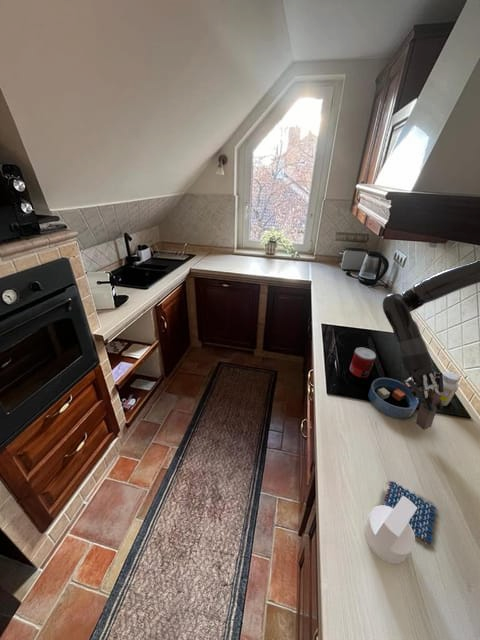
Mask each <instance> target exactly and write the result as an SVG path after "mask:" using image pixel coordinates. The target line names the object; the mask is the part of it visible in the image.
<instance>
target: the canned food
mask: <svg viewBox="0 0 480 640" xmlns="http://www.w3.org/2000/svg"><path fill="white" fill-rule="evenodd" d="M376 358H377V355H376V353H375V352H374V350H372V349H370V348H367V347H362V346H361V347H356V348H355V349H354V352H353V356H352V359H351V362H350V365H349V372H350V373H351V374H352V375H354V376H356V377H357V378H361V379H365V378H368V377H369V376H370V374H371V371H372V368H373V365H374V363H375V360H376Z"/></svg>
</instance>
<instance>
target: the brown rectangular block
mask: <svg viewBox="0 0 480 640" xmlns="http://www.w3.org/2000/svg"><path fill="white" fill-rule="evenodd" d="M427 392H428V396H429V399H430V402H431V404H432V407H433V410H434V411H432V412H428V411H425V409H424V408H423V405H422V402H421V401H420V405H419V408H418V412H417V415H416V419H415V422H414V423H415V424H416V425H417V426H418V427H420V428H421V429H423V430H426V429H430V428H432V425H433V422H434V420H435V416H436V414H437V410H438V409H437V407H438V404H439V401H440V398H441V396H440V395H439V394H437V393H435V392H434V391H432V390H430V391H427Z"/></svg>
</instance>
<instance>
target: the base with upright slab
mask: <svg viewBox="0 0 480 640" xmlns="http://www.w3.org/2000/svg"><path fill="white" fill-rule="evenodd" d="M416 510H417V507H416V506H415V505H414V504H413V503H412V502H411V501H410V500H409V499H407V498H406V497H405V496H402V497H401V499H400V500H399V502H398V503H397V504H396V506H395V507H394V509H393V508H391V507H389V505H388V506H385V504H384V505H383V504H379V505H376V506H374V507H373V508H372V509H371V511H370V512H369V514H368V516H367V518H366V519H365V521H364V524H363V534H364V537H365V540H366V542H367V544H368V546H369V548H370V549H371V550H372V551H373V553H374V554H375V555H376V556H377V557H379V558H380V559H381V560H383V562H386V563H389V564H391V565H392V564H393V565H398V564H401V563H403V562H404V561H405V560H406V559H407V557H408V556H409V555H411V553H412V552H413V551H414V550H415V546H416V536H414V532H413V530H412V528H411V526H410V524H409V523H408V522H409V520H410V519H411V517H412V516H413V514H414V513H415V511H416ZM415 514H416V513H415Z"/></svg>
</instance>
